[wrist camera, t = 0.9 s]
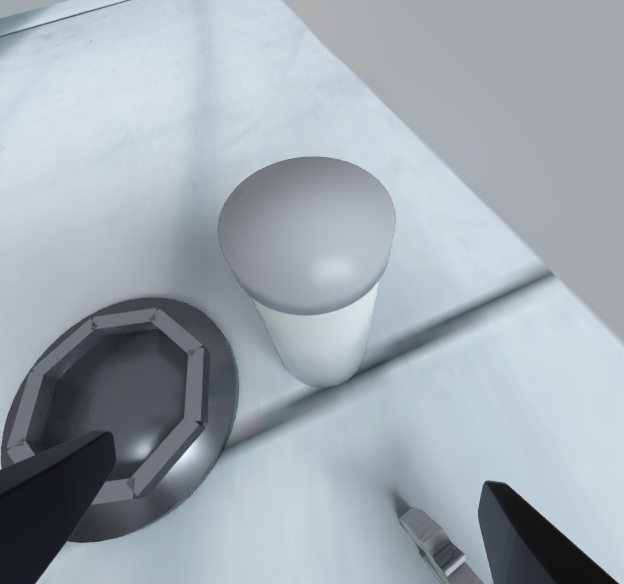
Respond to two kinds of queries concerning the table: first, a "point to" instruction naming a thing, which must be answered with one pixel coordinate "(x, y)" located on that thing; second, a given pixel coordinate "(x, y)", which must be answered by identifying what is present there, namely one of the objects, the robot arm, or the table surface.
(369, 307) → the capped white cylinder
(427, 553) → the caliper
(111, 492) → the collar
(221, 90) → the table surface
